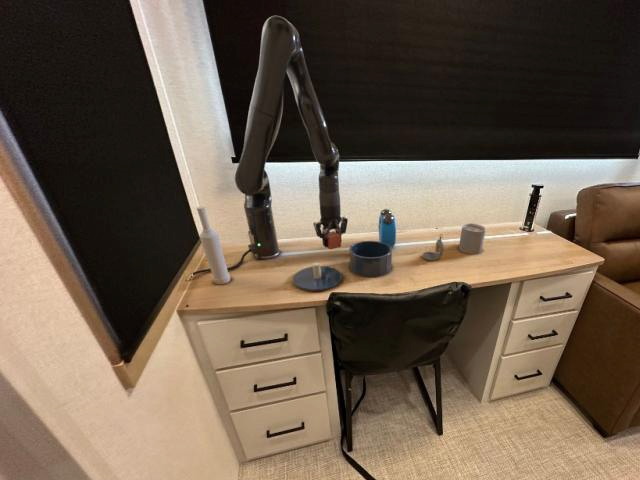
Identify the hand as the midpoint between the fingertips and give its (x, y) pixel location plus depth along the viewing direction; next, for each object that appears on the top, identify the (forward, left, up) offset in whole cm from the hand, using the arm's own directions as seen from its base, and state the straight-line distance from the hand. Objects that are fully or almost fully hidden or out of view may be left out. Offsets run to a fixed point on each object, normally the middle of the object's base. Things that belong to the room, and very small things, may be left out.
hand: (332, 245), depth 125 cm
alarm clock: (+24, -4, -5) cm, 25 cm away
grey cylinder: (+53, -27, -5) cm, 60 cm away
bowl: (+6, -17, -4) cm, 19 cm away
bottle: (-41, +4, -5) cm, 41 cm away
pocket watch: (+32, -25, -5) cm, 41 cm away
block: (0, 0, 0) cm, 0 cm away
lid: (-14, -14, -4) cm, 21 cm away
